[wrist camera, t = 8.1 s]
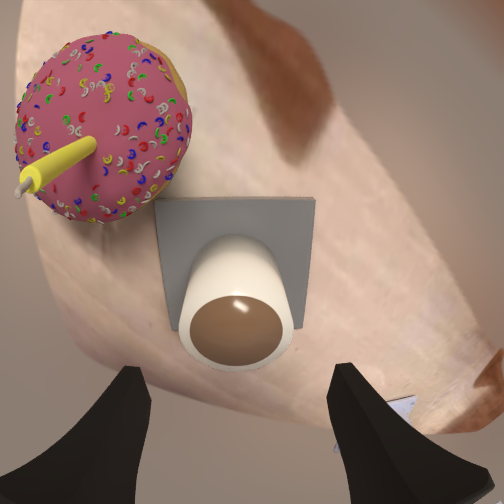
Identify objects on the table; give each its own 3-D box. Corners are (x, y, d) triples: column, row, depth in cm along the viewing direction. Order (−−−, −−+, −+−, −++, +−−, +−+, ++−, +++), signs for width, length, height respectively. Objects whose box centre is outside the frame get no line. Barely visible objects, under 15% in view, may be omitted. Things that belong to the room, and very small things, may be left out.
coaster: (300, 323, 21) (302, 328, 20) (173, 324, 21) (171, 330, 20) (313, 197, 17) (315, 200, 17) (156, 199, 17) (153, 201, 16)
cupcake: (231, 91, 14) (219, 23, 4) (159, 220, 17) (67, 373, 6) (105, 35, 12) (-43, -25, 1) (47, 160, 15) (-103, 232, 4)
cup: (279, 305, 19) (292, 367, 14) (199, 311, 19) (190, 374, 14) (276, 230, 17) (294, 280, 12) (185, 238, 17) (167, 290, 12)
